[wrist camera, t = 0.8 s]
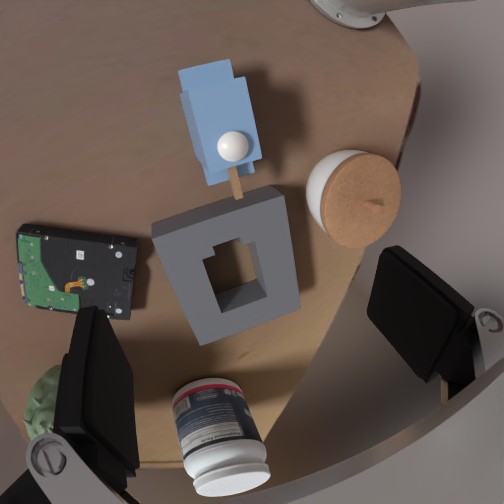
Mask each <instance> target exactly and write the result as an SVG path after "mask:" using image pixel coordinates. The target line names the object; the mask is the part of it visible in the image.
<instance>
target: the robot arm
mask: <svg viewBox="0 0 504 504" xmlns="http://www.w3.org/2000/svg"><path fill="white" fill-rule="evenodd" d="M468 1H476V0H310V2H311V3H312V4H313V5H314V6H315V7H316V9H318V10H319V11H320V12H321V13H322V14H323V15H324V16H326V17H327V18H329V19H330V20H331V21H333V22H335V23H337V24H339V25H342V26H345V27H348V28H354V29H363V28H368V27H372V26H374V25H376V24H378V23H379V22H380V21H381V20H382V19H383V17H384V16H385V13H386V12H387V11H392V10H398V9H403V8H410V7H416V6H423V5H431V4H440V3H452V2H468ZM473 310H474V306H473V305H472V304H470V303H469V302H468V301H467V300H466V299H465V298H464V297H463V296H461V295H460V294H459V293H458V292H457V291H455V290H454V289H453V288H452V287H451V286H450V285H448V284H447V283H446V282H445V281H443V280H442V279H441V278H440V277H439V276H438V275H436V274H435V273H434V272H432V271H431V270H430V269H429V268H428V267H426V266H425V265H424V264H422V263H421V262H420V261H419V260H418V259H416V258H415V257H414V256H412V255H411V254H410V253H408V252H407V251H406V250H405V249H403V248H402V247H400V246H398V245H396V246H392V247H388V248H385V249H384V250H383V251H382V253H381V254H380V256H379V261H378V265H377V270H376V274H375V279H374V283H373V287H372V291H371V296H370V299H369V303H368V307H367V315H368V317H369V319H370V320H371V321H372V322H373V324H374V325H375V326H376V327H377V328H378V329H379V331H380V332H381V333H382V334H383V335H384V336H385V338H386V339H387V340H388V341H389V342H390V343H391V345H392V346H393V347H394V348H395V349H396V351H397V352H398V353H399V354H400V355H401V357H402V358H403V359H404V360H405V361H406V363H407V364H408V365H409V366H410V367H411V369H412V370H413V371H414V372H415V374H416V375H417V376H418V377H420V378H422V379H423V380H424V381H425V383H428V382H430V381H431V380H433V379H434V378H436V376H437V375H438V373H439V374H440V375H441V406H440V407H439V408H437V409H436V410H434V411H433V412H431V413H430V414H428V415H427V416H425V417H424V418H422V419H421V420H419V421H417V422H416V423H414V424H413V425H411V426H409V427H408V428H406V429H404V430H403V431H401V432H399V433H398V434H396V435H394V436H392V437H391V438H389V439H387V440H385V441H383V442H381V443H379V444H378V445H376V446H374V447H372V448H370V449H368V450H366V451H364V452H362V453H360V454H358V455H356V456H353V457H351V458H349V459H347V460H345V461H342V462H340V463H338V464H336V465H333V466H331V467H329V468H326V469H324V470H321V471H319V472H316V473H313V474H311V475H308V476H306V477H303V478H300V479H297V480H294V481H291V482H288V483H285V484H282V485H279V486H276V487H272V488H269V489H265V490H262V491H258V492H255V493H251V494H247V495H243V496H238V497H234V498H230V499H225V500H221V501H216V502H211V503H205V504H504V319H503V318H502V317H501V316H500V315H499V314H498V313H496V312H495V311H493V310H490V309H486V308H485V309H484V308H482V309H479V310H478V311H476V313H475V315H474V317H472V316H471V314H472V312H473ZM26 459H27V465H28V469H27V470H26V471H25V472H24V473H23V474H22V475H21V476H20V477H19V478H18V479H17V480H16V481H15V482H14V483H13V484H12V485H11V486H10V487H9V488H8V489H7V490H6V491H5V492H4V493H3V494H2V495H1V496H0V504H143V503H141V502H140V501H139V500H138V499H137V498H136V497H135V496H133V495H132V494H131V493H130V492H129V491H128V490H127V489H126V488H127V480H126V477H136V473H135V469H138V468H139V467H140V462H139V454H138V445H137V435H136V425H135V412H134V395H133V375H132V370H131V367H130V365H129V363H128V361H127V359H126V357H125V354H124V352H123V350H122V348H121V346H120V344H119V342H118V340H117V337H116V335H115V333H114V331H113V328H112V326H111V324H110V322H109V319H108V317H107V314H106V312H105V310H104V309H101V310H99V308H98V307H97V306H96V305H95V306H89V307H83V308H79V310H78V313H77V317H76V321H75V325H74V330H73V334H72V339H71V344H70V349H69V353H66V354H65V355H64V357H63V360H62V366H61V371H60V377H59V383H58V390H57V397H56V405H55V413H54V423H53V433H43V434H40V435H39V436H37V437H35V438H34V439H33V440H32V442H31V443H30V445H29V447H28V449H27V454H26Z"/></svg>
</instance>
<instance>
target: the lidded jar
mask: <svg viewBox="0 0 504 504" xmlns="http://www.w3.org/2000/svg"><path fill="white" fill-rule="evenodd" d="M306 200H307V204H308V207H309V210H310V212H311V215H312V216H313V218H314V219H315V221H316V222H317V224H318V225H319V226H320V227H321V228H322V229H323V230H324V231H325V232H326V233H327V234H328V235H329V236H330V237H331V238H332V239H333V240H334V241H335V242H336V243H338V244H339V245H341V246H343V247H346V248H360V247H365V246H367V245H370V244H371V243H373V242H375V241H376V240H378V239H379V238H380V237H381V236H382V235H383V234H384V233H385V232H386V231H387V230H388V229H389V227H390V226H391V224H392V223H393V221H394V219H395V217H396V215H397V212H398V209H399V206H400V201H401V182H400V178H399V175H398V172H397V170H396V169H395V167H394V165H393V164H392V163H391V162H390V161H389V160H387V159H386V158H384V157H382V156H380V155H377V154H373V153H368V152H364V151H359V150H340V151H336V152H334V153H331V154H329V155H327V156H325V157H324V158H323V159H321V160H320V161H319V162H318V163H317V164H316V166H315V167H314V168H313V170H312V171H311V173H310V175H309V178H308V181H307V187H306Z"/></svg>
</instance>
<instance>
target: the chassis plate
mask: <svg viewBox="0 0 504 504" xmlns="http://www.w3.org/2000/svg"><path fill="white" fill-rule="evenodd" d="M242 194H243V198H241V199H238V200H236V199H235V198H234V196H232V197H229V198H226V199H223V200H220V201H217V202H214V203H211V204H207V205H204V206H201V207H198V208H195V209H193V210H190V211H187V212H184V213H181V214H178V215H175V216H172V217H169V218H167V219H164V220H161V221H158V222H155V223H153V224H152V241H153V243H154V246H155V248H156V251H157V253H158V255H159V258H160V260H161V263H162V265H163V267H164V270H165V272H166V274H167V276H168V279H169V281H170V283H171V285H172V288H173V290H174V292H175V294H176V296H177V299H178V301H179V303H180V305H181V307H182V309H183V312H184V314H185V316H186V318H187V320H188V322H189V324H190V326H191V328H192V330H193V332H194V334H195V336H196V338H197V340H198V342H199V344H200V346H202V345H205V344H208V343H210V342H213V341H216V340H219V339H222V338H225V337H227V336H230V335H233V334H236V333H238V332H241V331H244V330H247V329H249V328H252V327H255V326H257V325H260V324H262V323H265V322H268V321H270V320H273V319H275V318H278V317H280V316H283V315H285V314H288V313H290V312H293V311H295V310H298V309H300V308H301V305H300V297H299V290H298V283H297V276H296V269H295V262H294V255H293V248H292V242H291V235H290V229H289V223H288V217H287V210H286V204H285V198H284V195H283V194H282V193H280V192H279V191H278V190H276V189H275V188H273V187H272V186H271V185H268V186H265V187H262V188H258V189H255V190H252V191H248V192H245V193H242ZM236 238H238V240H239V241H240V243H241V245H245V244H249V248H250V252H251V257H252V261H253V265H254V269H255V273H256V277H257V279H256V280H253V281H250V282H248V283H245V284H242V285H239V286H237V287H234V288H231V289H228V290H225V291H223V292H220V293H217V294H214V291H213V289H212V286H211V283H210V280H209V278H208V275H207V272H206V269H205V266H204V263H203V261H202V259H205V258H208V257H211V256H213V255H215V253H214V250H213V247H212V246H215V245H218V244H221V243H224V242H227V241H230V240H233V239H236Z"/></svg>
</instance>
